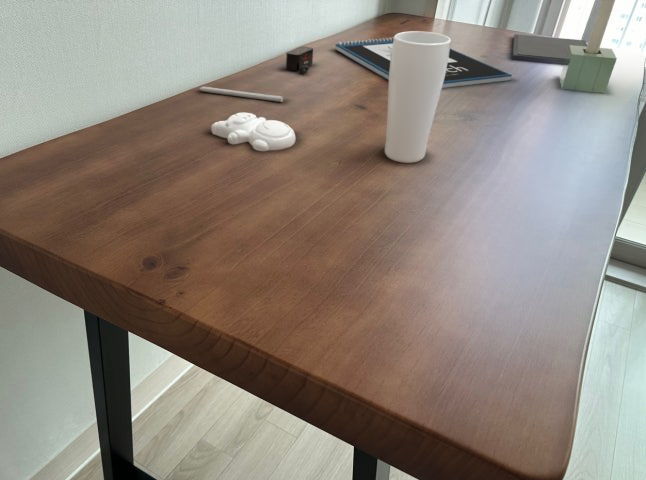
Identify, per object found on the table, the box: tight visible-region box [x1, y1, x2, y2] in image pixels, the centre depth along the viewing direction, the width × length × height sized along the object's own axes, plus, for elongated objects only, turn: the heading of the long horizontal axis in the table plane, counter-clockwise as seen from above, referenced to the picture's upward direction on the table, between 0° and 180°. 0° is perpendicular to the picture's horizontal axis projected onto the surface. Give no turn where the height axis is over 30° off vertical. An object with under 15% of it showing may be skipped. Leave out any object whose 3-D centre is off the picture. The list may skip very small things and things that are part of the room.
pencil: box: [198, 86, 284, 103], centre depth 95 cm, size 1×1×15 cm
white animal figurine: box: [210, 111, 296, 152], centre depth 80 cm, size 9×12×3 cm
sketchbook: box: [334, 36, 513, 89], centre depth 113 cm, size 22×30×2 cm
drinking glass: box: [384, 30, 452, 164], centre depth 72 cm, size 7×7×15 cm
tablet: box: [511, 33, 588, 66], centre depth 122 cm, size 15×20×1 cm
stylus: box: [585, 0, 616, 54], centre depth 96 cm, size 2×2×14 cm
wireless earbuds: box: [285, 45, 314, 74], centre depth 108 cm, size 5×7×3 cm, turn 149°
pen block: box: [559, 45, 618, 94], centre depth 102 cm, size 7×7×6 cm
